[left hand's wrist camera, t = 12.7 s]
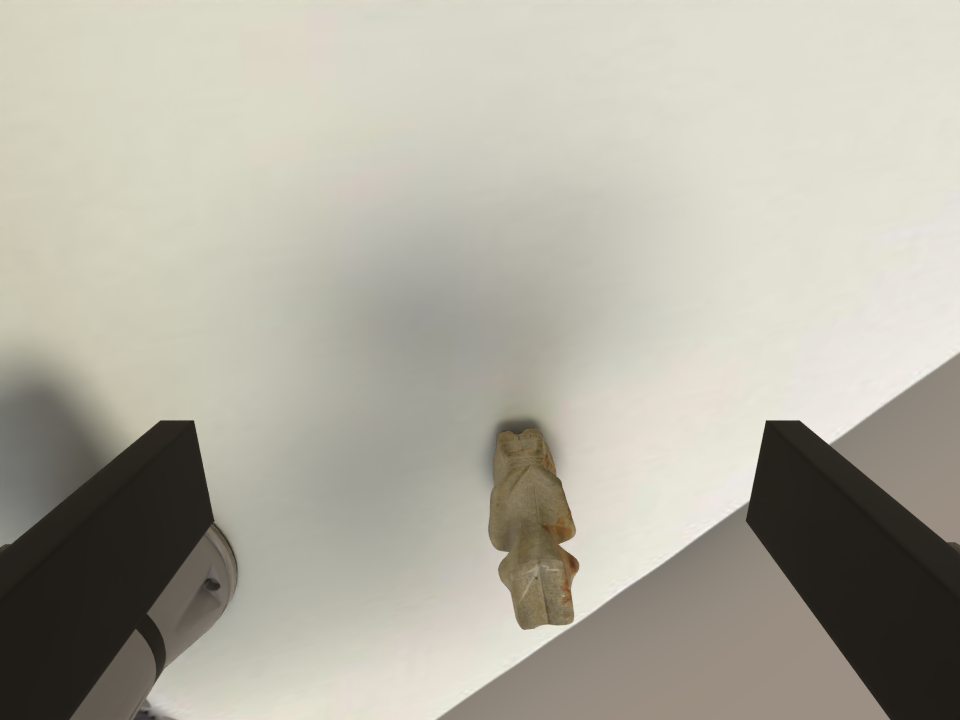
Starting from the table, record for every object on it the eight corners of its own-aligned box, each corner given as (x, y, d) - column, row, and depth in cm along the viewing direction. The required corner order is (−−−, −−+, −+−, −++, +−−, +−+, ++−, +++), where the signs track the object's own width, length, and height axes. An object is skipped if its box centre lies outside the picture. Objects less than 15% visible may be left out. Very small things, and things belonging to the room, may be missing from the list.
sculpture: (490, 497, 47) (494, 643, 33) (483, 420, 44) (484, 544, 30) (558, 492, 47) (592, 637, 33) (555, 415, 44) (591, 537, 30)
